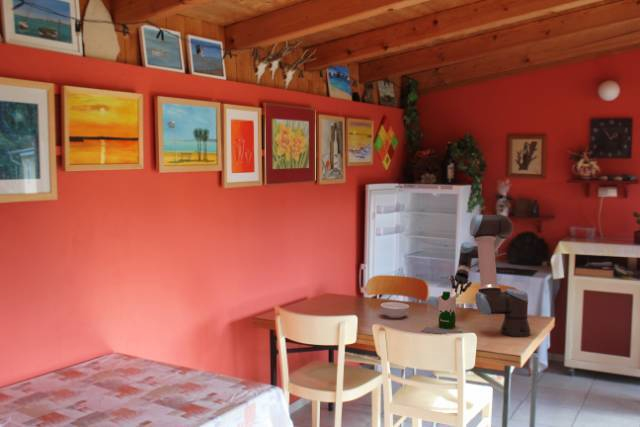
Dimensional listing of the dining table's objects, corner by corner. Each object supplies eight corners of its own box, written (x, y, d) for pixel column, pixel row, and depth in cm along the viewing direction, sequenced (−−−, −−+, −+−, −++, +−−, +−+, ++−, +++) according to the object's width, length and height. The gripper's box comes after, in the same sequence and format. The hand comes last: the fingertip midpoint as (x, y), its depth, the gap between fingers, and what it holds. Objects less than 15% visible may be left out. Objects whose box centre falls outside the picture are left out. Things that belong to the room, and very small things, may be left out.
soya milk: (436, 327, 349) (437, 292, 347) (442, 324, 357) (442, 289, 355) (452, 330, 344) (452, 293, 343) (457, 326, 352) (458, 290, 350)
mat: (462, 331, 341) (462, 331, 341) (457, 336, 332) (457, 335, 332) (426, 327, 350) (426, 326, 350) (420, 331, 341) (420, 331, 341)
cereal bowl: (405, 321, 363) (406, 309, 362) (377, 319, 368) (377, 307, 368) (411, 314, 379) (411, 303, 378) (384, 312, 384) (384, 301, 384)
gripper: (471, 283, 379) (466, 304, 359) (450, 275, 381) (444, 296, 361) (475, 273, 375) (470, 294, 355) (453, 265, 378) (448, 286, 357)
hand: (457, 295), depth 358 cm, fingers closed
